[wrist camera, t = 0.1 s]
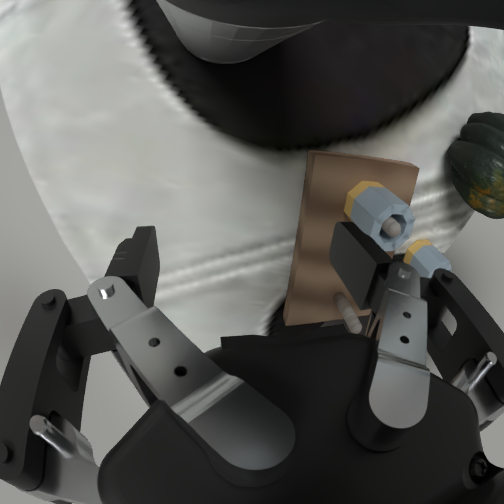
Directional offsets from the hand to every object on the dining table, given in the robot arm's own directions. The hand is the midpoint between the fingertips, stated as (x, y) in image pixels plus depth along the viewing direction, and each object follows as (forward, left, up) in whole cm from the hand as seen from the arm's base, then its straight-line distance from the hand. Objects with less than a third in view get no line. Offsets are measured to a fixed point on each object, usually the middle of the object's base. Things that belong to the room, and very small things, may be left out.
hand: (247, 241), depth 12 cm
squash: (-4, +35, -17) cm, 39 cm away
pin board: (+12, +16, -17) cm, 26 cm away
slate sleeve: (+14, +30, -17) cm, 37 cm away
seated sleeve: (+5, +16, -15) cm, 22 cm away
